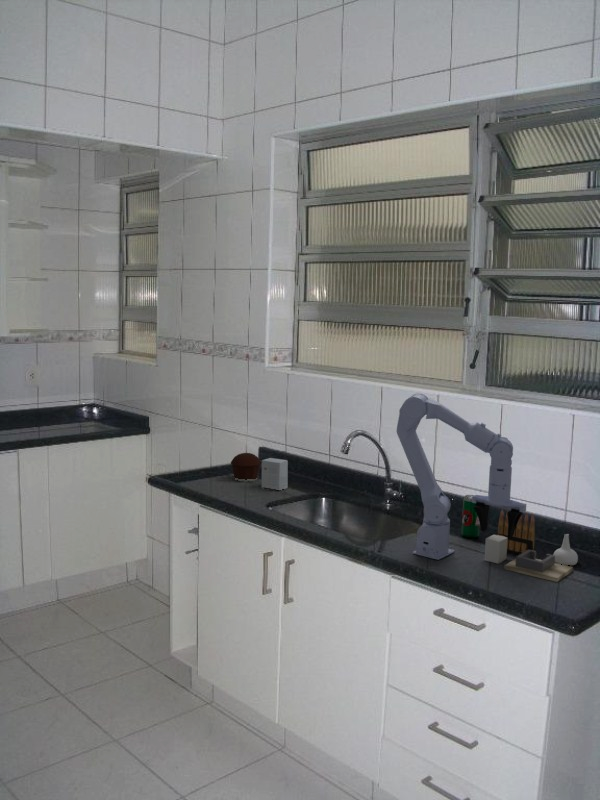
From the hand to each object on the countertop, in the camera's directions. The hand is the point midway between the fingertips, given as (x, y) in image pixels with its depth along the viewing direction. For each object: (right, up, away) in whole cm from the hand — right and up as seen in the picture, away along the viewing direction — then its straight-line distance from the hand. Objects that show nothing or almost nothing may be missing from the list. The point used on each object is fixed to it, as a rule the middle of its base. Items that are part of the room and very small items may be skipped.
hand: (497, 533), depth 210 cm
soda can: (-2, -5, +22) cm, 23 cm away
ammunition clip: (+6, -7, +6) cm, 11 cm away
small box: (-62, +3, +75) cm, 97 cm away
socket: (+8, -8, -6) cm, 13 cm away
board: (+9, -8, -6) cm, 14 cm away
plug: (0, -7, +1) cm, 7 cm away
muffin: (-74, +5, +88) cm, 114 cm away
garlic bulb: (+18, -8, 0) cm, 20 cm away
